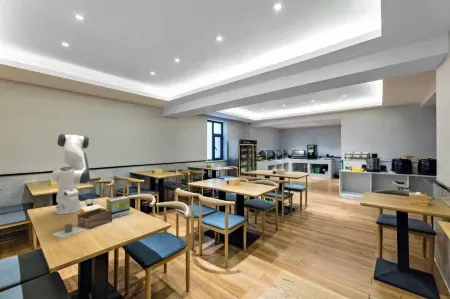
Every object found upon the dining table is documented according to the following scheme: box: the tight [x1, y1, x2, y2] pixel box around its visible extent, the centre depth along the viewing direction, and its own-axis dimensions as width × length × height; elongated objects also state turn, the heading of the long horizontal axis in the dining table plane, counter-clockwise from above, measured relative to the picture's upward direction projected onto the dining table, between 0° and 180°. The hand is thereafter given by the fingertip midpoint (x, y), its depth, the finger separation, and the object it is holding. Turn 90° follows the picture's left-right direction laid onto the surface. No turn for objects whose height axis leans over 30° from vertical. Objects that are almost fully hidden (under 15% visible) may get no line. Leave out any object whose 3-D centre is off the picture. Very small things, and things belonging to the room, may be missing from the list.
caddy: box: [77, 207, 113, 230], centre depth 152 cm, size 15×16×8 cm
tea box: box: [105, 195, 131, 220], centre depth 169 cm, size 15×10×15 cm, turn 143°
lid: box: [51, 223, 85, 239], centre depth 136 cm, size 13×13×6 cm
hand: (66, 211), depth 136 cm, fingers open, 8 cm apart
